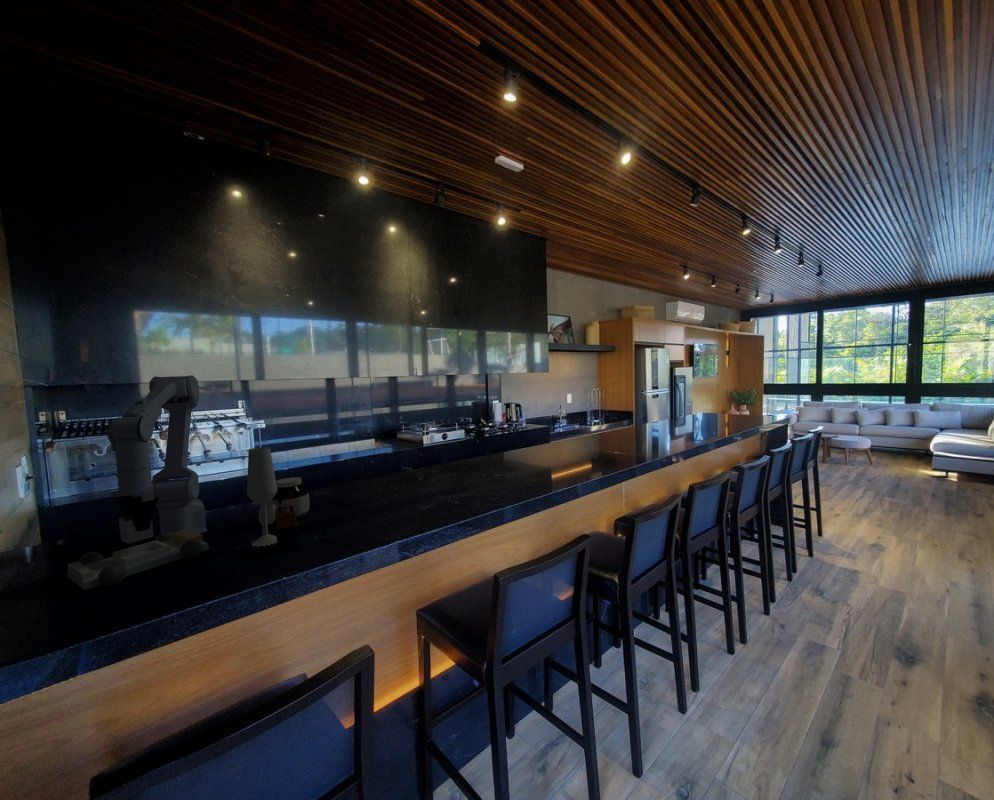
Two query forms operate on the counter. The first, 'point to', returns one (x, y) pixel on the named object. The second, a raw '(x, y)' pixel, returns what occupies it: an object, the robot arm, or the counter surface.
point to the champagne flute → (261, 487)
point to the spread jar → (288, 499)
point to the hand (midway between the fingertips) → (139, 528)
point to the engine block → (132, 530)
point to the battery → (286, 527)
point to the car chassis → (135, 559)
